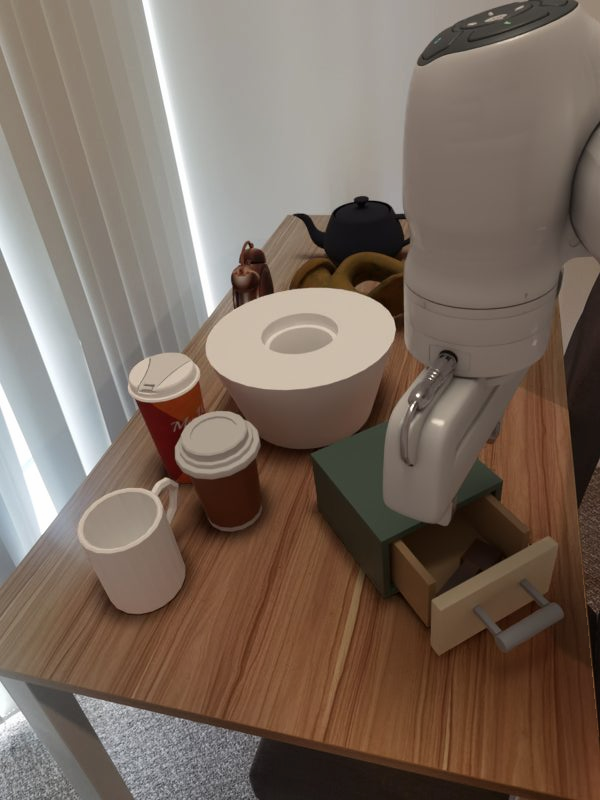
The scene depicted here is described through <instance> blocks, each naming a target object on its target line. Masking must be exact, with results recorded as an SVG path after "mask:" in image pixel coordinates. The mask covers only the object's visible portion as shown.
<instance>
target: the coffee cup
mask: <svg viewBox="0 0 600 800" xmlns="http://www.w3.org/2000/svg"><path fill="white" fill-rule="evenodd" d="M200 377H201V370H200V368H199V366H198V365H197V364H196V363H195V362H194V361H193V360H192V359H191V358H190V357H189V356H187V355H186V354H185V353H180V352H162V353H158V354H154V355H151V356H148V357H146V358H144V359H142V360H141V361H139V362H137V364H136V365H134V366H133V367H132V368H131V370H130V372H129V375H128V384H127V391H128V394H129V395H130V396H131V397H132V398H133V399H134V400H135V402H136V404H137V407H138V409H139V412H140V413H141V414H140V415H141V416H142V419H143V420H144V423H145V426H146V428H147V430H148V432H149V434H150V436H151V439H152V442H153V443H154V446H155V448H156V450H157V452H158V455H159V457H160V459H161V461H162V464H163V466H164V469H165V470H166V472H167V474H168V475H169V478H170V479H171V480H173V481H175V482H177V483H179V484H181V483H182V484H192V481H191V479H190V477H189V475H188V474H186V473H184V472H183V471H182V470H181V468H180V467H179V466H178V464H177V463H176V460H175V446H176V444H177V442H178V441H179V439H180V437H181V434H182V432H183V430H184V428H185V427H186V426H187V425H188V424H189V423H190V422H191V421H192V420H194V419H195V418H197V417H199V416H201V415H203V414H206V408H205V404H204V399H203V394H202V389H201V385H200Z"/></svg>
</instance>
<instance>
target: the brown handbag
mask: <svg viewBox="0 0 600 800" xmlns="http://www.w3.org/2000/svg"><path fill="white" fill-rule="evenodd" d="M247 246H248V247H247ZM238 263H239V264H238V265H237V266H236V267H235V268H234V269H233V270H232V272H231V275H230V283H231V286H232V288H231V289H232V291H231V293H232V305H233V310H234V309H236V308H238V307H240V306H242V305H244V304H245V303H247V302H250V301H253V300H255V299H258V298H260V297H263V296H267V295H270V294H274V293H275V287H274V282H273V278H272V273H271V270H270V267H269V266H268V264H267V258H266V254H265V252H264V251H263V250H262V249H260V248H257V247H255V245H254V243H253V242H251V241H250V240H245V242H244V244H243V245H242V248H241V251H240V254H239V259H238Z"/></svg>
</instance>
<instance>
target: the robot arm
mask: <svg viewBox="0 0 600 800" xmlns="http://www.w3.org/2000/svg"><path fill="white" fill-rule="evenodd" d="M404 112H405V114H404V122H403V139H402V166H401V167H402V169H401V171H402V173H401V175H402V176H401V177H402V179H401V181H402V183H401V185H402V187H401V188H402V189H401V190H402V191H401V197H402V200H401V201H402V209H403V214H405V218H406V219H405V220H406V224H407V227H408V230H409V232H408V233H409V237H410V244H408V251H407V255H406V258H405V261H404V263H405V265H404V314H403V315H404V316H403V318H404V319H403V323H404V328H403V329H404V332H403V333H404V335H403V337H404V344H405V347H406V349H407V350H408V352H409V354H410V355H411V356H412V357H413V358H414V359H415V360H416V361H418V362H419V363H421V364H422V365H423V366H425V367H424V368H423V369H422V371H421V372H420V373H419V375H417V377H416V378H415V379H414V381H413V382H412V383H411V384H410V386H409V387H408V389H407V390H406V391H405V392H404V393H403V395H402V396H401V397H400V398H399V399H398V401H397V403H396V404H395V406H394V408H393V409H392V412H391V414H390V417H389V419H388V420H389V423H388V427H387V431H386V438H385V447H384V463H383V500H384V503H385V504H386V505H387V506H388V507H389V508H390V509H392V510H394V511H396V512H398V513H400V514H402V515H405V516H407V517H409V518H412V519H415V520H418V521H422V522H426V523H431V524H435V523H437V524H440V525H442V526H447V525H448V524H449V522H450V521H451V519H452V517H453V515H454V513H455V512H456V504H457V497H456V496H455V495H456V493H457V492H458V490H459V488H460V486H461V485H462V483H463V481H464V480H465V478H466V476H467V475H468V473H469V471H470V469H471V468H472V466H473V464H474V463H475V461H476V459H477V458H479V456H480V454H481V452H482V450H483V449H484V447H485V446H486V444H488V445H494V444H495V443H496V441H497V440H498V438H499V436H500V435H501V433H502V429H503V428H502V427H503V421H504V417H505V414H506V410H507V408H508V406H509V405H510V402H512V399H513V397H514V396H515V394H516V392H517V391H518V389H519V387H520V386H521V384H522V382H523V380H524V379H525V377H526V375H527V374H528V372H529V370H530V369H531V367H532V366H533V365H534V364H535V363H537V362H538V361H539V360H540V359H542V357H544V355H545V354H546V351H547V350H548V346H549V343H550V336H551V331H552V324H553V319H554V312H555V307H556V300H557V299H558V297H559V295H560V293H561V289H562V285H563V280H564V275H565V274H564V273H565V266H564V265H565V264H566V263H568V262H569V261H571V260H573V259H576V258H590V257H591V258H594V260H595V261H596V262H597V263H598V265H600V21H599V20H597V19H596V18H594V17H593V16H591V15H590V14H589V13H588V12H587V11H586V10H585V9H584V8H583V6H582V5H581V3H579V2H578V1H577V0H525V1H515V2H511V3H507V4H503V5H500V6H496V7H493V8H490V9H487V10H483V11H481V12H477V13H476V14H473V15H471V16H468V17H466V18H464V19H461V20H459V21H457V22H455V23H453V25H451V26H449V27H447V28H445V29H443V30H442V31H440V32H439V33H438V34H437V35H436V36H434V38H433V39H432V40H431V41H430V42H429V43H428V44H427V45H426V47H425V48H424V50H423V51H422V52H421V54H420V55H419V56H418V58H417V59H416V62H415V65H414V67H413V70H412V74H411V77H410V80H409V85H408V90H407V97H406V103H405V111H404Z"/></svg>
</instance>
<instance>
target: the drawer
mask: <svg viewBox="0 0 600 800" xmlns="http://www.w3.org/2000/svg"><path fill="white" fill-rule="evenodd" d="M531 533H532V532H531V529H530V528H529V527H528V525H526V524H525V523H524V522H522V520H520V519H519V518H518V517H517V516H516V515H515V514H514V513H513V512H512V511H510V510H509V509H508V508H507V507H506V506H505V505H504V504H503V503H502V502H501V503H500V502H499V501H498V500H497V499H496V498H495V497H494V496H493V495H492V494H490V493H489V494H487V495H485V496H483V497H481V498H479V499H477V500H475V501H473V502H471V503H469V504H467V505H465V506H463V507H461V508H459V509H457V510H456V512H455V513H454V515H453V517H452V519H451V521H450V522H449V524H448V525H447V526H442V525H440V524H437V523H435V524H431V523H429V524H427V525H425V526H423V527H421V528H419V529H417V530H415V531H413V532H411V533H409V534H407V535H405V536H403V537H401V538H399V539H397V540H395V541H393V542H391V543H390V544H389V560H390V579H391V580H392V582H393V583H394V584H395V586H396V587H397V588H398V590H399V592H400V593H401V595H402V596H403V597H404V599H405V600H406V601H407V603H408V604H409V605H410V606H411V608H412V609H413V610H414V612H415V613H416V614H417V616H418V617H419V618H420V619H421V621H422V622H423V623H424V625H425V626H426V627H427V628H430V645H429V646H430V647H431V648H432V650H434V652H435V653H436V654H437V656H441V655H443V654H444V653H446V652H447V651H449V650H451V649H453V648H454V647H456V646H458V645H459V644H461V643H463V642H465V641H466V640H469V639H470V638H472V637H474V636H475V635H477V634H479V633H480V632H482V631H484V630H485V629H487V630H488V631H489V632H490V633H491V634H492V636H494V637H493V638H494V643H495V644H496V646H497V648H498V649H499V650H500V651H501V652H502V653H503V654H505V653H508V652H510V651H511V650H513V649H515V648H516V647H518V646H520V645H521V644H523V643H524V642H526V641H528V640H529V639H531V638H533V637H534V636H536V635H538V634H539V633H541V632H543V631H545V630H546V629H547V628H550V627H551V626H552V625H554V624H556V623H557V622H559V621H560V620H562V619H564V617H565V613H564V611H563V609H562V608H561V606H560V605H559V604H558V603H556V602H554V601H552V602H550V601H549V600H548V599H547V598H546V597H545V596H544V595H545V594H546V593H548V592H549V590H550V585H551V581H552V576H553V572H554V567H555V563H556V559H557V555H558V549H559V545H560V544H559V542H557V541H555V540H554V539H553V538H552V537H551V536H550V535H547V536H544V537H543V538H541V539H539V540H538V541H536V542H534V543H532V544H530V545H529V543H530V538H531ZM476 538H478V539H480V540H481V541H483V542H485V543H487V544H489V545H491V546H493V547H494V548H496V549H498V550H500V551H502V552H503V557H502V561H501V562H500V563H498V564H496V565H494V566H492V567H491V568H489V569H487V570H485V571H483V572H481V573H480V574H478V575H476V576H474V577H472V578H471V579H469V580H467V581H465V582H463V583H461V584H460V585H458V586H456V587H454V588H452V589H451V590H449V591H447V592H445V593H443V594H441V595H440V596H438V597H436V594H437V593H438V592H439V591H440V589H441V588H442V587H443V586H444V584H445V583H446V582H447V581H448V580H449V578H450V577H451V576H452V575H453V574H454V572H455V571H456V570H457V569H458V568H459V566H460V557H461V556H462V555H463V554H464V553H465V552H466V550H467V549H468V548H469V547H470V546H471V544H472V543H473V542H474V541H475V540H476ZM533 601H534V602H535V603H536V604H537V605H538V606H539V607H540V609H538V610H536V611H535V612H532V613H531V614H530V615H528V616H526V617H525V618H523V619H522V620H519V621H518V622H516V623H515V624H513V625H511V626H509V627H508V628H506V629H504V630H502V629H501V628H500V627H499V626H498V625H497V622H499V621H500V620H502V619H504V618H505V617H507V616H509V615H511V614H513V613H514V612H516V611H517V610H519V609H521V608H523V607H524V606H526V605H528V604H529V603H531V602H533Z"/></svg>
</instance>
